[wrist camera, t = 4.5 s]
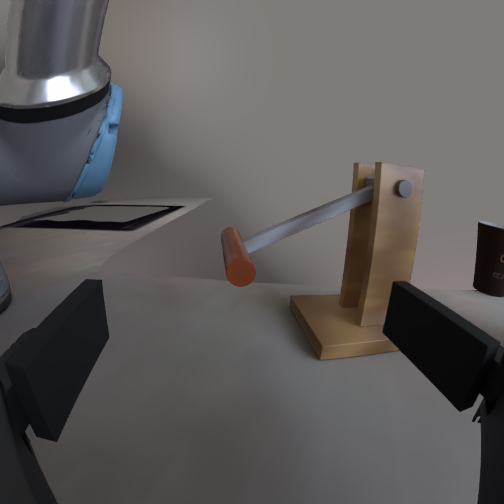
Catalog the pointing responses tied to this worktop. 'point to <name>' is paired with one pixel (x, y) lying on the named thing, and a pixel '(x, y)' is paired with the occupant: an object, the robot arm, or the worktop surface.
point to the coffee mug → (490, 259)
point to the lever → (282, 233)
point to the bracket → (367, 266)
